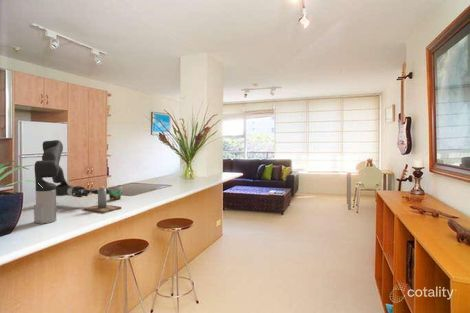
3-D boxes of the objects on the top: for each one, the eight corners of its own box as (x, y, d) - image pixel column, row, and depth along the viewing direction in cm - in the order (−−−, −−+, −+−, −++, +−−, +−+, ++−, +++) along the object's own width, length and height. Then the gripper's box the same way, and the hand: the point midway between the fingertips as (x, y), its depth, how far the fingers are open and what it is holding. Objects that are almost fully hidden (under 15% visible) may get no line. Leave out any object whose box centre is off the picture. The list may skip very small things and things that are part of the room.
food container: (115, 201, 205) (115, 187, 204) (108, 200, 206) (108, 187, 205) (125, 198, 217) (125, 185, 216) (118, 197, 218) (118, 185, 217)
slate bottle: (101, 208, 177) (101, 187, 176) (96, 207, 179) (95, 187, 178) (108, 207, 181) (107, 186, 180) (102, 206, 183) (102, 185, 182)
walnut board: (103, 213, 170) (103, 211, 170) (83, 210, 177) (83, 208, 177) (121, 208, 183) (121, 206, 183) (101, 205, 190) (101, 203, 190)
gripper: (66, 187, 183) (83, 189, 177) (85, 184, 196) (102, 186, 190) (66, 198, 184) (83, 201, 177) (85, 195, 197) (102, 197, 190)
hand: (93, 193), depth 183 cm, fingers open, 8 cm apart
